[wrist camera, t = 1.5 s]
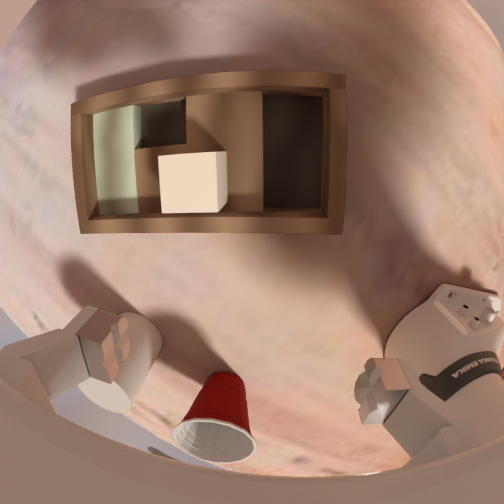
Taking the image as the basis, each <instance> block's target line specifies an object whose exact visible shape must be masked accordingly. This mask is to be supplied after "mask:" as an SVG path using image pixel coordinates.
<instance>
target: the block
mask: <svg viewBox="0 0 504 504" xmlns="http://www.w3.org/2000/svg"><path fill="white" fill-rule="evenodd" d="M158 164H159V181H160V195H161V207H162V213H206V212H219V211H220V210H221V208H222V207H223V206H224V205H225V204H226V203H227V202H228V189H227V151H222V152H202V153H187V154H174V155H163V156H158Z"/></svg>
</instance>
